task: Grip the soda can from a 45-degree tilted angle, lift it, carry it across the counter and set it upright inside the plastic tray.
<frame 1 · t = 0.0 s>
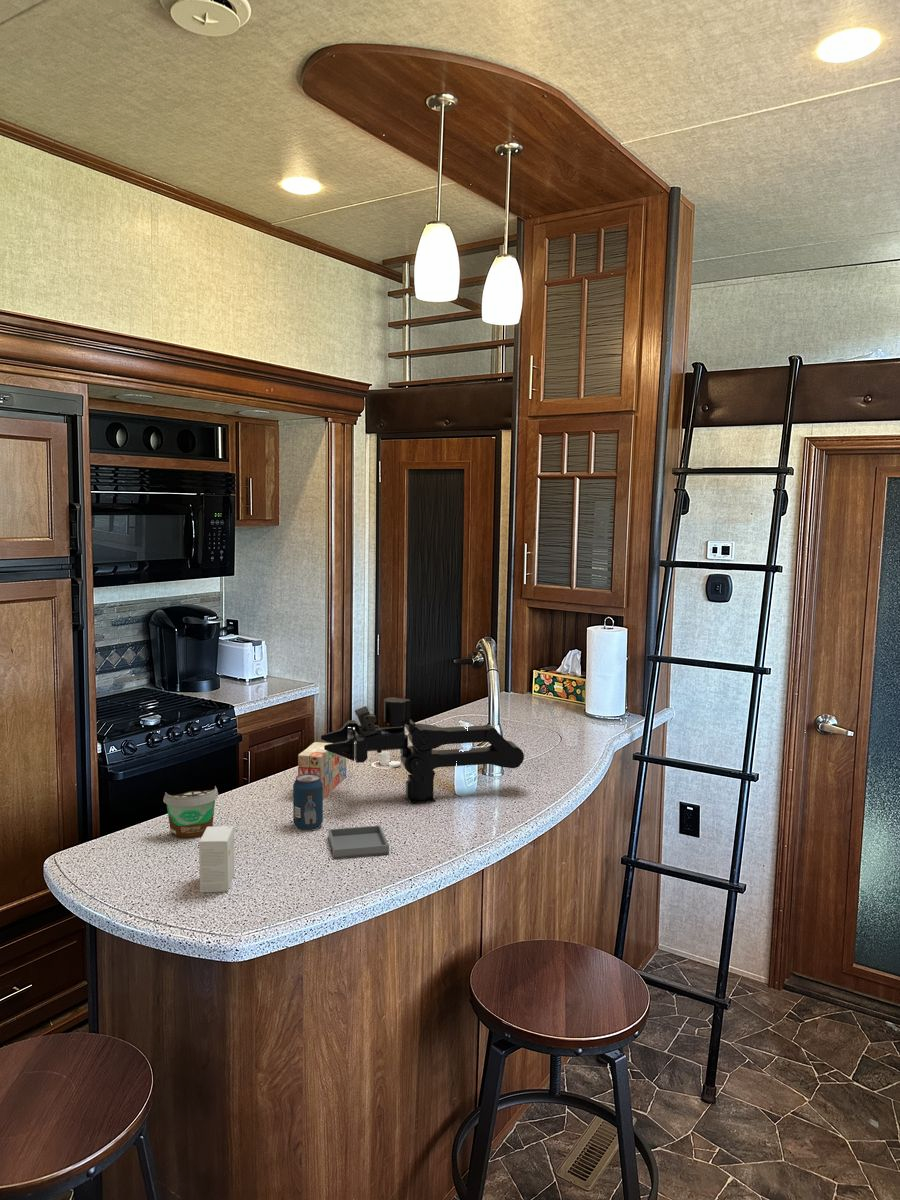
hand: (322, 742, 210), 17 cm above the countertop, tool horizontal, fingers open, 9 cm apart
small box: (217, 884, 167), on the countertop
tray: (358, 845, 187), on the countertop
food container: (194, 835, 192), on the countertop
stack of blocks: (323, 788, 225), on the countertop
soda can: (308, 827, 198), on the countertop
teacup and saucer: (384, 770, 244), on the countertop
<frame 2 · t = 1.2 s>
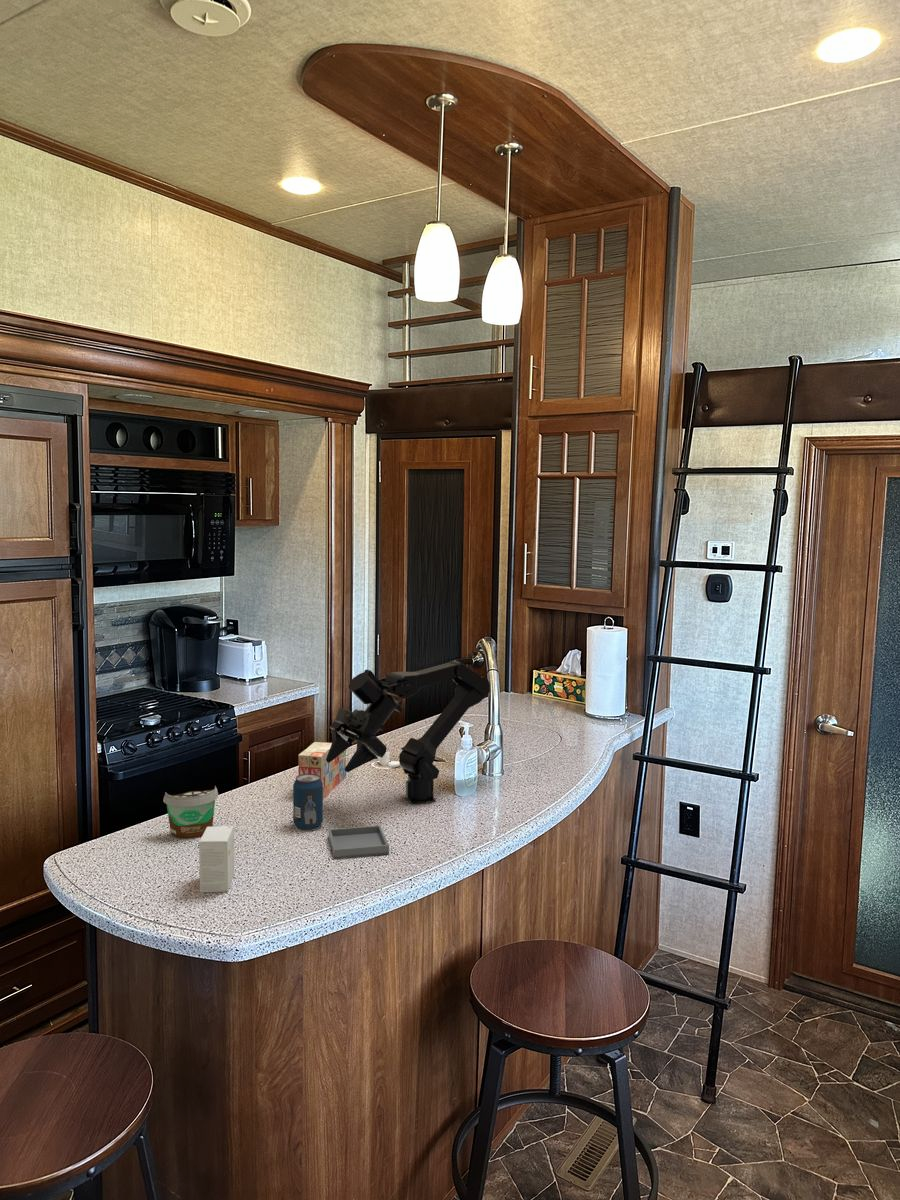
hand: (336, 766, 201), 13 cm above the countertop, tool tilted 45°, fingers open, 9 cm apart
nothing on the countertop moved.
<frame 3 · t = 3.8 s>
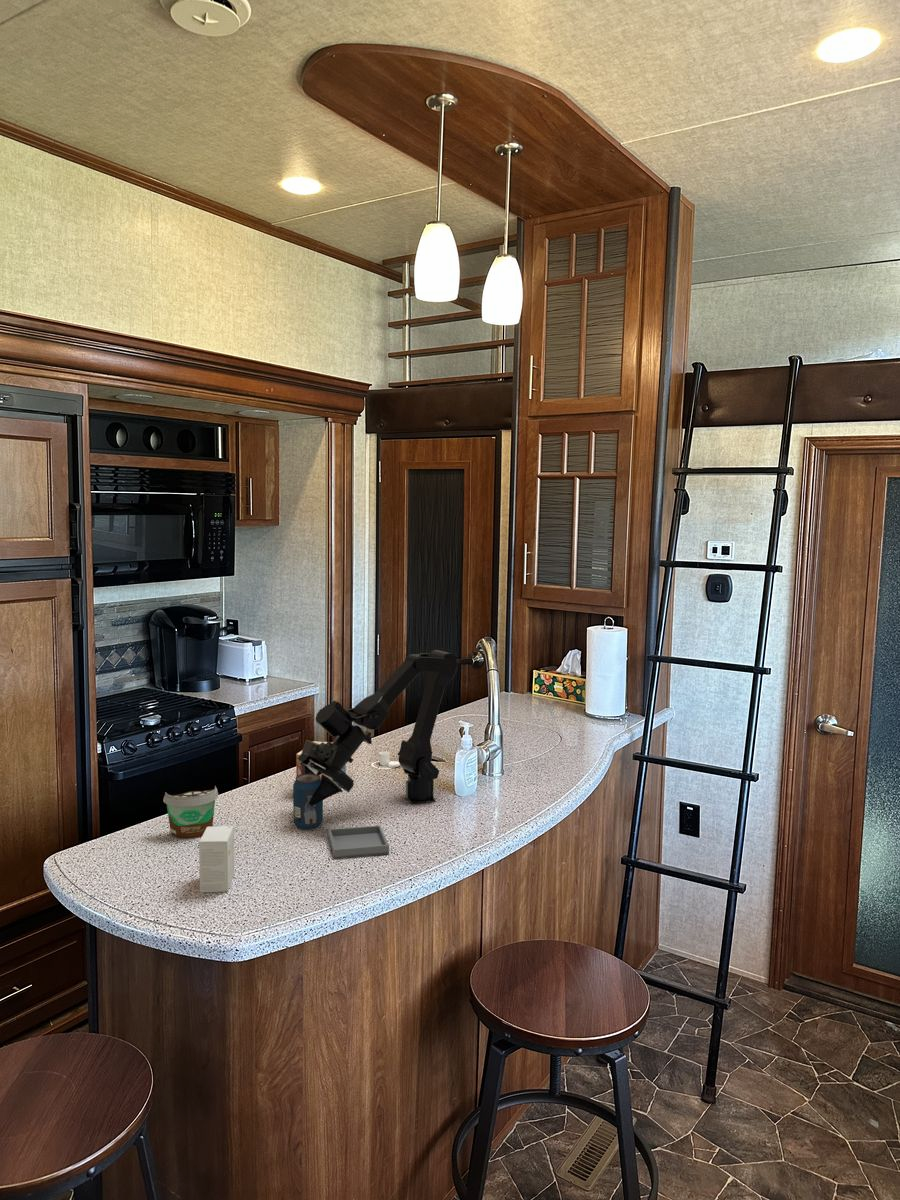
hand: (302, 800, 196), 7 cm above the countertop, tool tilted 45°, fingers closed on soda can, 7 cm apart
soda can: (308, 827, 198), on the countertop, touching gripper
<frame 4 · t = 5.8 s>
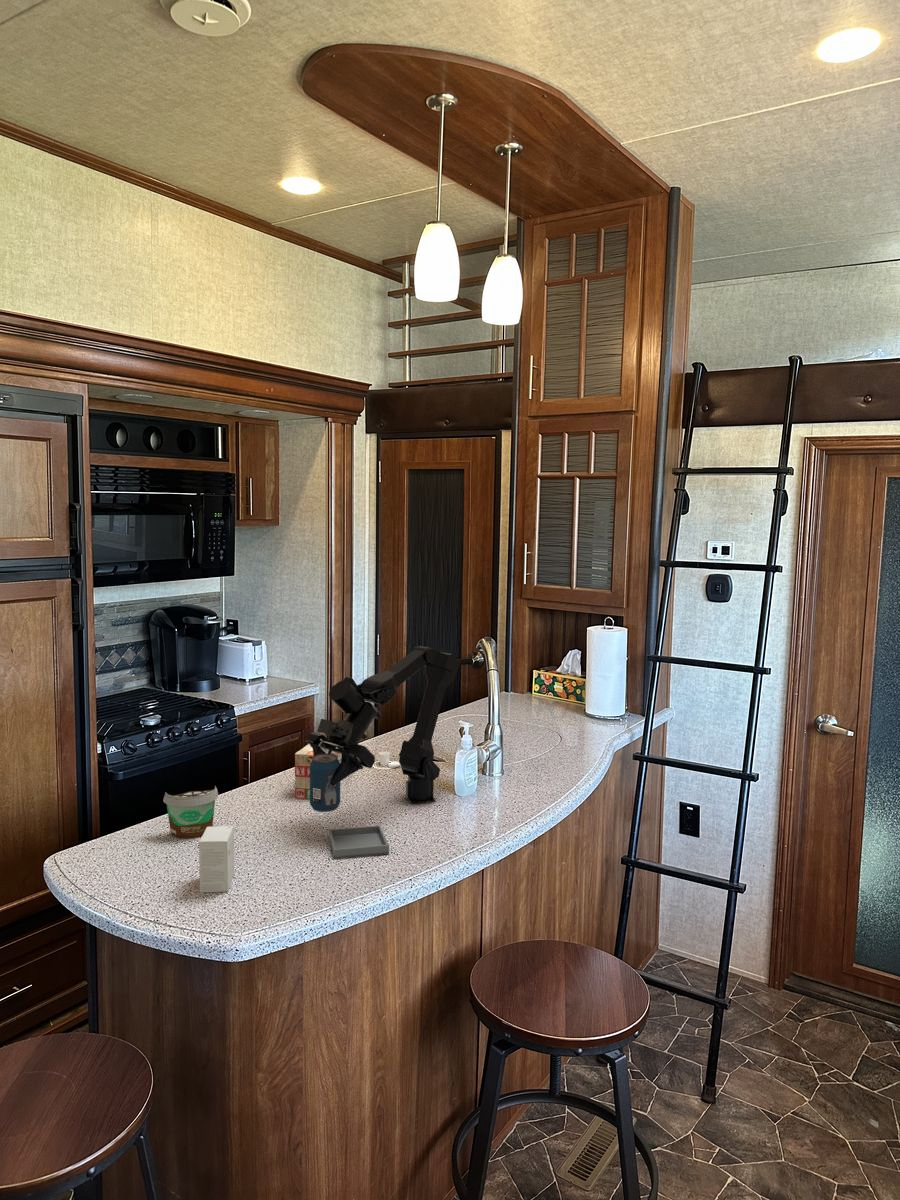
hand: (320, 781, 190), 13 cm above the countertop, tool tilted 45°, fingers closed on soda can, 7 cm apart
soda can: (325, 808, 192), point 6 cm above the countertop, touching gripper
when the fingers open (8 cm above the countertop, at t = 8.2 s): soda can drops 1 cm, resting on tray.
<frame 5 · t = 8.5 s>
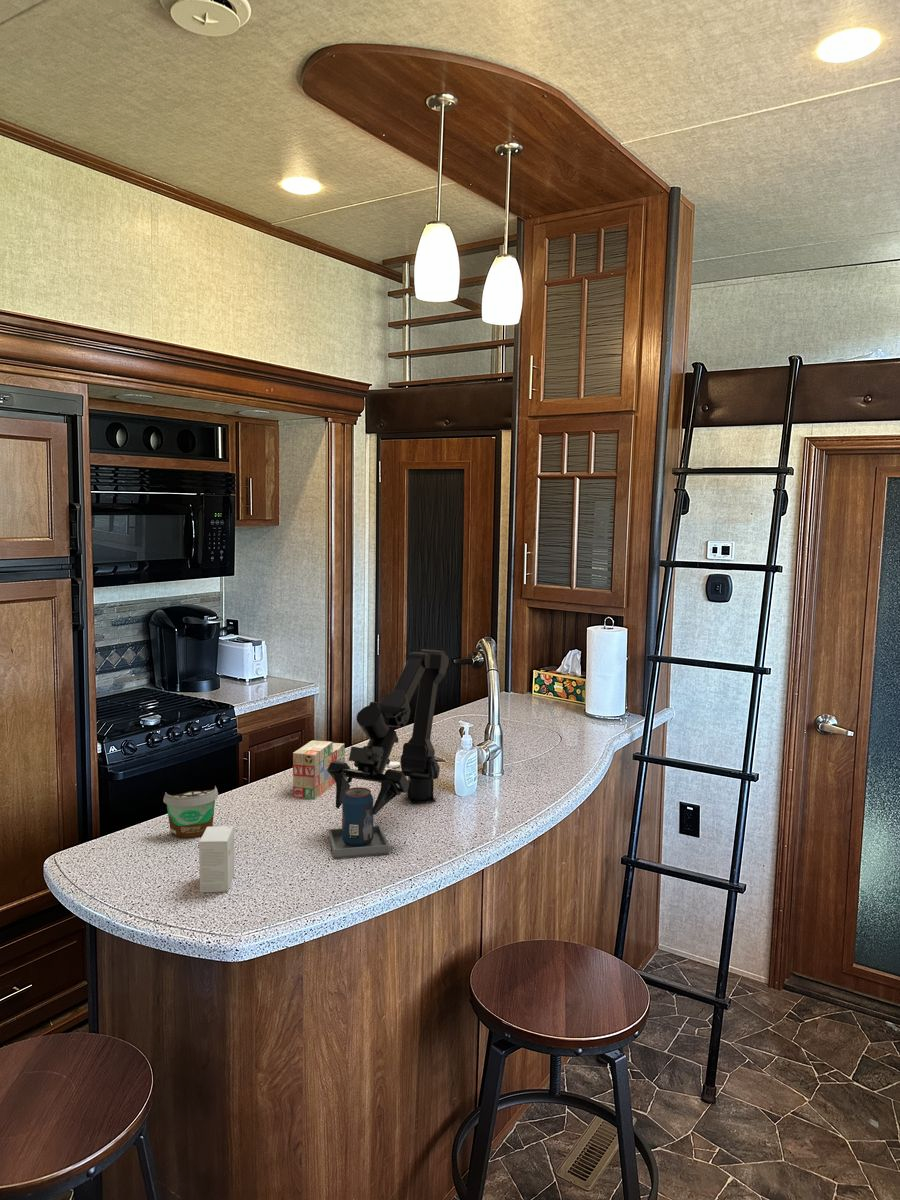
hand: (355, 810, 185), 9 cm above the countertop, tool tilted 45°, fingers open, 9 cm apart
soda can: (357, 844, 187), resting on tray
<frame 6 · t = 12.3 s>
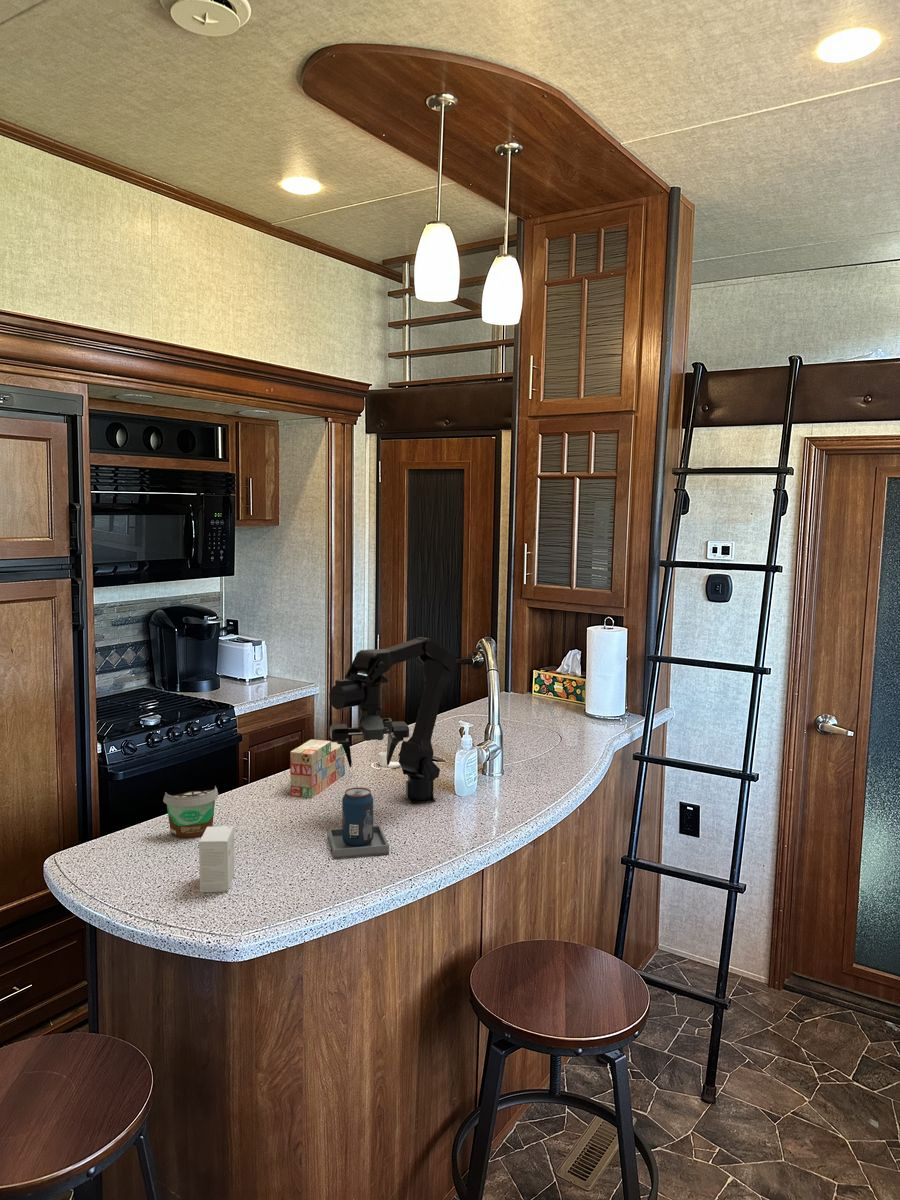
hand: (369, 765, 203), 13 cm above the countertop, tool pointing down, fingers open, 9 cm apart
at the end: soda can 0.2 cm off-centre on the tray, point 0.3 cm above the tray's base; soda can tilted 0°; the gripper is holding nothing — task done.
